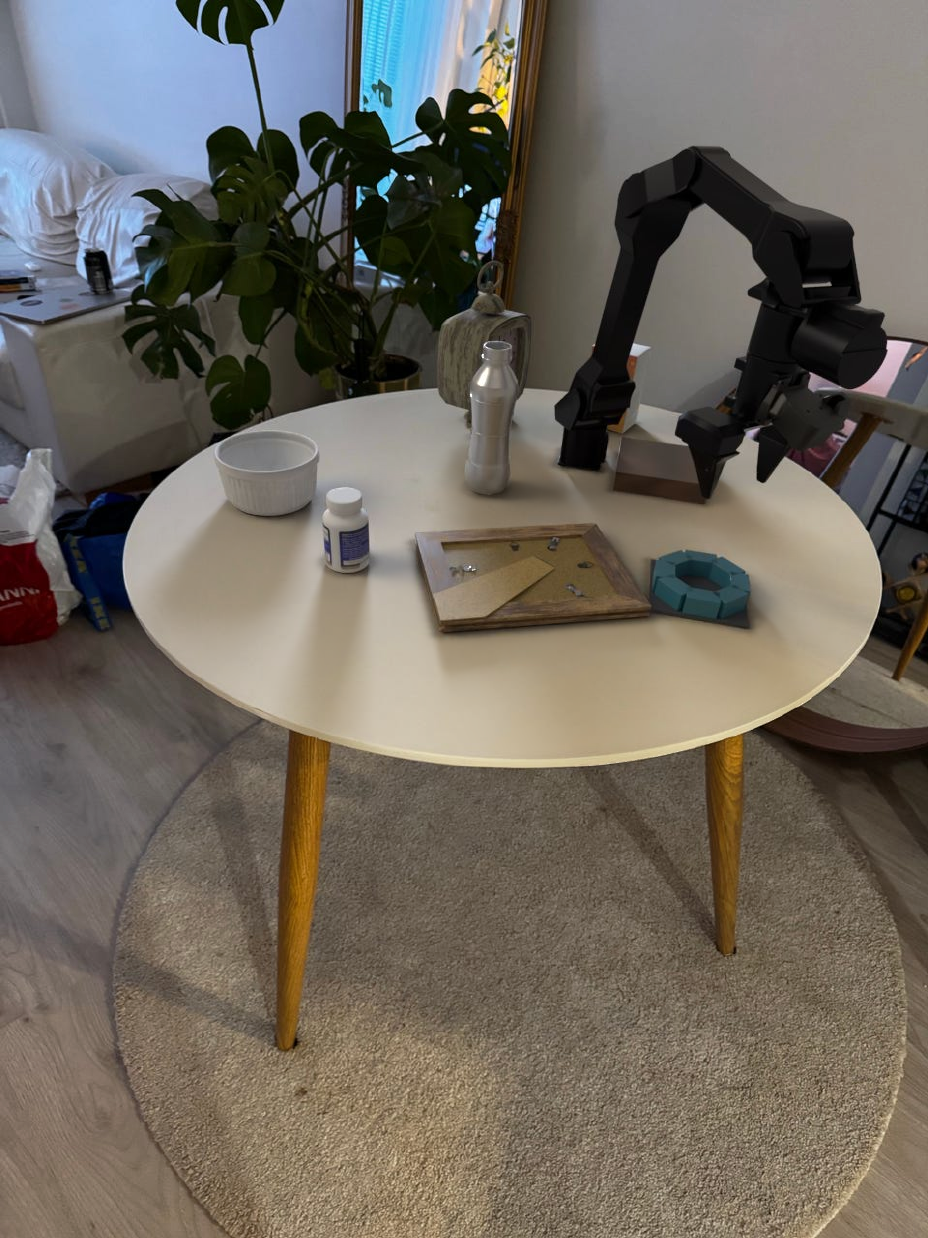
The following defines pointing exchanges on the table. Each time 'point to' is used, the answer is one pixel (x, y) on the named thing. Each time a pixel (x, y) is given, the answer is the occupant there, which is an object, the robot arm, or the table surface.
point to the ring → (698, 599)
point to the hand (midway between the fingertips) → (733, 489)
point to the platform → (656, 470)
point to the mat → (663, 608)
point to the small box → (637, 373)
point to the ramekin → (268, 471)
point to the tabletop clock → (480, 344)
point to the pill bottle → (346, 531)
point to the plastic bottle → (491, 420)
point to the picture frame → (525, 577)
